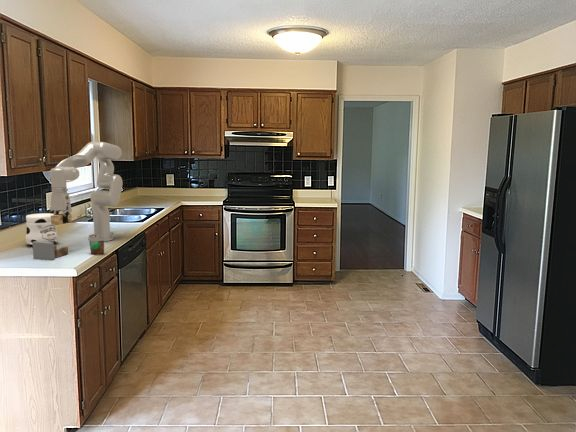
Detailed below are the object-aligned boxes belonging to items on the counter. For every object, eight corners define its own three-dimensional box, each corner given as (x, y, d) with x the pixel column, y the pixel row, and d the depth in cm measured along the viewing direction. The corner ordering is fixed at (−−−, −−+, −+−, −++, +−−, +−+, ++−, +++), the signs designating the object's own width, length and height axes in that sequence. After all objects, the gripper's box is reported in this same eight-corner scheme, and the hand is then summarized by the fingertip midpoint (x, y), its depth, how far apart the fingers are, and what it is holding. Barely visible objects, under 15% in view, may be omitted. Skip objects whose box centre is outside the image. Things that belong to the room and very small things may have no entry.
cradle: (55, 252, 266) (55, 245, 265) (68, 253, 263) (67, 246, 263) (43, 256, 257) (42, 249, 256) (56, 257, 255) (55, 250, 254)
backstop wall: (36, 257, 255) (35, 241, 253) (55, 259, 252) (53, 242, 250) (33, 258, 253) (32, 241, 251) (52, 260, 250) (51, 243, 248)
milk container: (53, 247, 279) (51, 217, 277) (21, 248, 276) (19, 217, 273) (61, 241, 296) (59, 212, 293) (31, 242, 293) (29, 213, 290)
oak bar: (65, 221, 272) (65, 212, 271) (71, 222, 270) (71, 213, 269) (51, 224, 263) (50, 215, 262) (57, 225, 261) (56, 216, 260)
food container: (85, 252, 268) (84, 235, 266) (95, 250, 272) (95, 233, 271) (94, 256, 259) (93, 238, 258) (105, 254, 264) (104, 236, 262)
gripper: (76, 190, 264) (79, 222, 267) (52, 189, 269) (54, 220, 272) (67, 191, 257) (69, 224, 260) (41, 190, 262) (44, 222, 265)
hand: (61, 222), depth 266 cm, fingers closed on oak bar, 4 cm apart
